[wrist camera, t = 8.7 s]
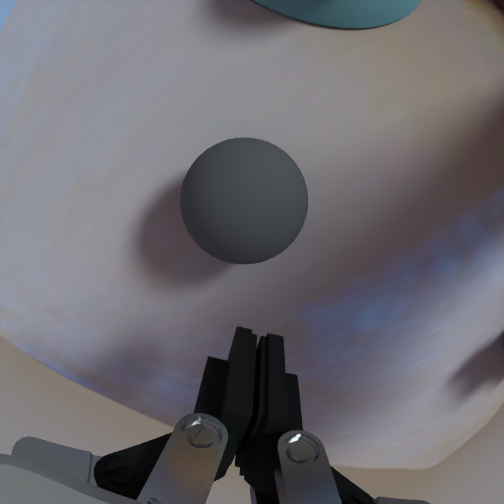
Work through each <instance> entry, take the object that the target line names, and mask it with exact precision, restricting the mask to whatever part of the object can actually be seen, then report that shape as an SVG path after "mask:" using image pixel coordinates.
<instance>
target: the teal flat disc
mask: <svg viewBox="0 0 504 504" xmlns="http://www.w3.org/2000/svg"><path fill="white" fill-rule="evenodd" d="M253 1H255V2H256V3H258V4H260V5H262V6H264V7H266V8H268V9H270V10H273V11H275V12H278V13H280V14H283V15H285V16H288V17H291V18H294V19H297V20H300V21H304V22H308V23H313V24H317V25H322V26H328V27H334V28H347V29H364V28H373V27H379V26H383V25H388V24H391V23H393V22H396V21H398V20H400V19H402V18H403V17H405V16H407V15H408V14H409V13H410V12H412V11H413V10H414V9H415V8H416V6H417V5H418V4H419V2H420V1H421V0H253Z"/></svg>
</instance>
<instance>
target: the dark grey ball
mask: <svg viewBox="0 0 504 504" xmlns="http://www.w3.org/2000/svg"><path fill="white" fill-rule="evenodd" d="M307 209H308V193H307V187H306V184H305V180H304V177H303V175H302V173H301V171H300V169H299V168H298V166H297V165H296V163H295V162H294V161H293V160H292V158H291V157H290V156H289V155H288V154H287V153H285V152H284V151H283V150H281V149H280V148H279V147H277V146H275V145H273V144H271V143H269V142H266V141H263V140H259V139H255V138H234V139H229V140H225V141H222V142H220V143H218V144H216V145H214V146H212V147H210V148H209V149H207V150H206V151H204V152H203V153H202V154H201V155H200V156H199V157H198V158H197V159H196V160H195V162H194V163H193V164H192V165H191V167H190V169H189V171H188V172H187V174H186V177H185V179H184V182H183V186H182V190H181V212H182V217H183V220H184V223H185V225H186V228H187V230H188V232H189V234H190V235H191V236H192V238H193V239H194V241H195V242H196V243H197V244H198V245H199V246H200V247H201V248H202V249H203V250H204V251H206V252H207V253H209V254H210V255H212V256H214V257H216V258H218V259H220V260H223V261H226V262H230V263H235V264H254V263H259V262H263V261H266V260H268V259H270V258H273V257H275V256H276V255H278V254H280V253H281V252H282V251H284V250H285V249H286V248H287V247H288V246H289V245H290V244H291V243H292V242H293V241H294V240H295V238H296V237H297V236H298V234H299V232H300V231H301V229H302V227H303V224H304V221H305V218H306V215H307Z"/></svg>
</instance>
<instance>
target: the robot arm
mask: <svg viewBox="0 0 504 504" xmlns="http://www.w3.org/2000/svg"><path fill="white" fill-rule="evenodd" d="M256 346H257V335H255V334H252V330H251V329H247V328H243V327H238V326H237V328H236V331H235V335H234V339H233V342H232V346H231V349H230V353H229V357H228V360H227V361H226V360H222V359H218V358H214V357H210V356H208V359H207V363H206V366H205V370H204V374H203V378H202V382H201V386H200V390H199V394H198V398H197V402H196V406H195V410H194V413H193V414H189V415H186V416H184V417H183V418H181V419H180V420H179V422H178V423H177V425H176V427H175V428H174V430H173V432H172V433H169V434H166V435H164V436H161V437H158V438H156V439H153V440H150V441H148V442H144V443H142V444H139V445H136V446H133V447H130V448H127V449H124V450H121V451H118V452H114V453H111V454H108V455H106V456H104V457H101V456H96V455H92V454H91V452H89V451H84V450H79V449H75V448H71V447H67V446H63V445H59V444H56V443H52V442H48V441H45V440H42V439H38V438H35V437H25V438H21V439H20V440H18V441H17V442H16V444H15V445H14V447H13V450H12V454H11V455H6V454H0V504H205V503H206V500H207V498H208V495H209V492H210V489H211V486H212V484H213V482H214V481H216V480H218V479H220V478H222V477H224V476H225V474H226V471H227V469H228V467H229V465H231V463H232V461H233V459H234V457H235V455H236V458H235V466H236V467H240V475H242V476H244V480H245V481H246V482H247V483H248V484H249V485H250V496H251V504H430V503H428V502H426V501H422V500H408V499H395V498H386V497H377V498H376V499H374V498H372V497H371V496H370V495H369V494H367V493H366V492H365V491H363V490H362V489H361V488H359V487H358V486H356V485H355V484H354V483H352V482H351V481H350V480H348V479H347V478H346V477H344V476H343V475H341V474H340V473H339V472H338V471H336V470H335V469H334V468H333V467H331V466H330V464H329V461H328V458H327V454H326V451H325V448H324V446H323V444H322V442H321V441H320V440H319V439H318V438H317V437H316V436H314V435H313V434H311V433H308V432H306V431H303V427H302V416H301V406H300V396H299V386H298V378H297V375H295V374H289V373H286V372H285V356H284V341H283V336H278V335H274V334H269V333H268V334H267V336H266V337H264V336H261V337H260V340H259V343H258V346H257V349H256Z"/></svg>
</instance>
